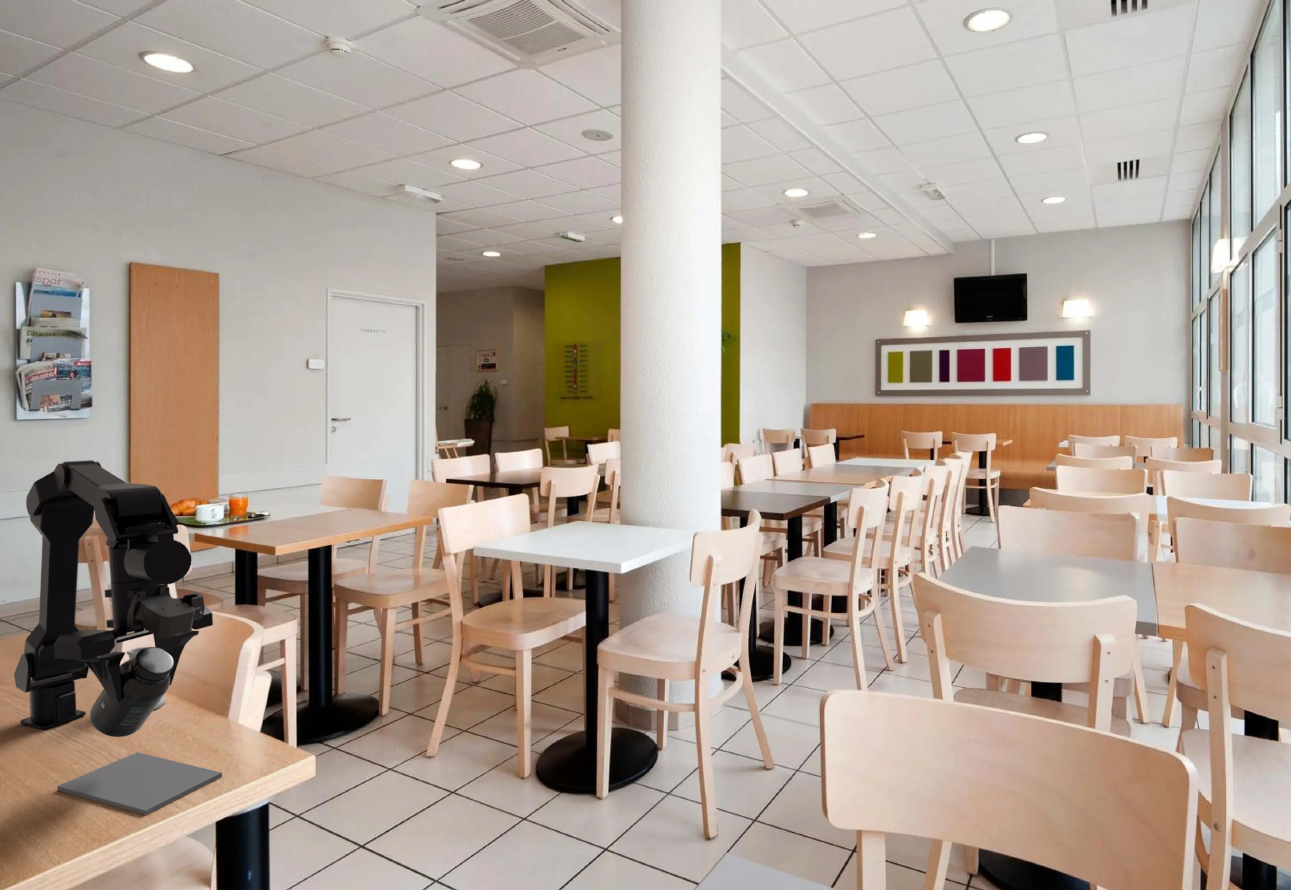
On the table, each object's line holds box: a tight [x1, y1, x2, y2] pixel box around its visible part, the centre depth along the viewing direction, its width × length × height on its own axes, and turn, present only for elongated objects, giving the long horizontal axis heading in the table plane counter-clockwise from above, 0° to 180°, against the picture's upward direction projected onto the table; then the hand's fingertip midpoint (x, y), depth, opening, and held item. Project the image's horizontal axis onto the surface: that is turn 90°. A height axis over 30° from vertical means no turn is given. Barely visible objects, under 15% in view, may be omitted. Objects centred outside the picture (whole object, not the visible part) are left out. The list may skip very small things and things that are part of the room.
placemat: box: [56, 751, 223, 816], centre depth 107 cm, size 17×11×1 cm, turn 68°
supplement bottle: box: [89, 646, 174, 738], centre depth 108 cm, size 7×7×12 cm
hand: (142, 693), depth 108 cm, fingers closed on supplement bottle, 7 cm apart
